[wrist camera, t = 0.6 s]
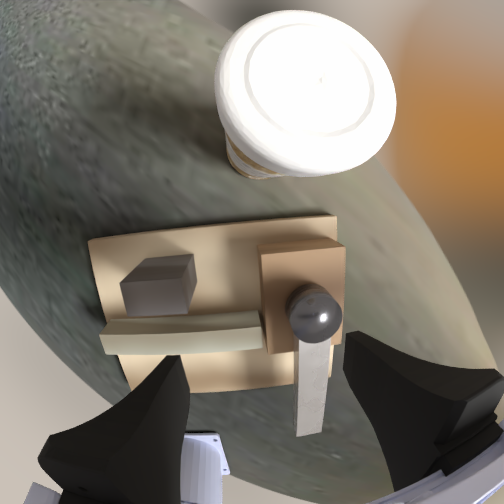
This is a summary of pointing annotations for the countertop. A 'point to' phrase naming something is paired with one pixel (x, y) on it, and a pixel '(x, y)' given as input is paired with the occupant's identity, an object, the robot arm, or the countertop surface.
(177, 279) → the wooden base plank
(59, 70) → the countertop surface
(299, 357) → the bar
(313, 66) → the sprinkles bottle
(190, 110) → the countertop surface
